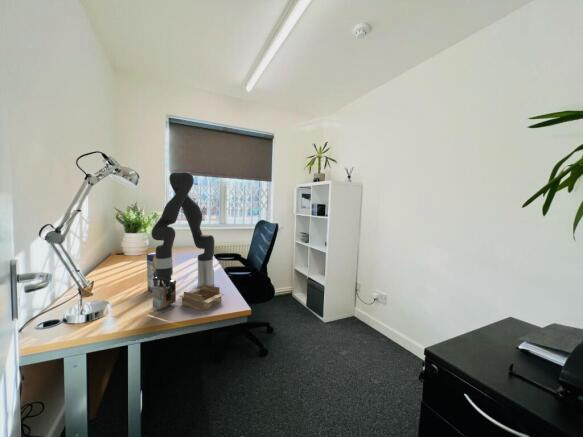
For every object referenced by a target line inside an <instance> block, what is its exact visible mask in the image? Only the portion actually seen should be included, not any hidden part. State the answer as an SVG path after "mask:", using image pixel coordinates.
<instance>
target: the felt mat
mask: <svg viewBox="0 0 583 437" xmlns="http://www.w3.org/2000/svg"><path fill="white" fill-rule="evenodd" d="M177 307H179V305H177V304H175V303H173V304H170V305H168V306H166V307H164V308H162V309H157V308H154V307H152V308H150V311H151V310H152V311H154V312H158V313H161V314H164V313H167V312H169V311H171V310H172V309H175V308H177Z"/></svg>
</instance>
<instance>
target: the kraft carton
mask: <svg viewBox="0 0 583 437" xmlns="http://www.w3.org/2000/svg"><path fill="white" fill-rule="evenodd" d="M220 290H221V288H220V287H219V286H214V285H212V286H211V285H206V284H202V287H201V288H199V287H197V288H194V289H192V290H191V291H183V294H180V295H179V297H180V298H181V305H182V307H186V308H190V309H193V310H198V311H201V312H204V311H206V310H208V309H209V308H211V307H213V306H215V305H217V304H218V303H220V302H222V296H224V295H225V294H224V293H222V292H221V291H220Z"/></svg>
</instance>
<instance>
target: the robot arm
mask: <svg viewBox="0 0 583 437" xmlns="http://www.w3.org/2000/svg"><path fill="white" fill-rule="evenodd" d="M194 180H195V179H194V176H193V174H192V173H191V172H190V171H175V172H171V173H170V175H169V180H168V181H169V183H170V186H171V188H172V190H173V192H174V193H175V194H174V196H173V197H171V198H170V200H168V202H167V203H166V204H165V207H164V209H163V211H162V213H161V216H160V218H159V219H158V220H157V222H156V223H155V225H154V226H153V228H152V230H151V237H152V239H153V240H155V241H163V242H162V244H160V245H157V246H156V248H155V253H156V261H155V272H156V278H153V282H154V287H155V286H160V285H161V286H163V287H165V289H166V301H169V300H171V293H172V292H174V291H175V285H176V283H177V281H176V280H172V275H173V273H174V271H173V268H174V267H173V265H174V264H173V262H174V261H173V246H174V242H175V238H176V231H175V229H174V227H173V226H170V225H174V224H175V223H176V222H177V219H178V217H179V213H180V210H181V209H182V211H183V212H182V213H183V214H184V216H185V219H186V222H187V223H188V226H189V229H190V232H191V235H192V236H191V237H192V239H193V242H194V245H195V247H196V248H197V249H199V250H200V249H202V250H203V253H200V254H198V256H197V286H198V287H197V288H199V287H200V288H202V284H206V285H211V286H214V284H215V270H214V255H215V238H214V236H213V235H212V234H204V233H203V232H202V228H201V225H202V221H203V214H202V213H203V212H202V211H201V208H200V206H199V204H198V203H197V202H196V201H195V200H194V199H193V198H192V197H191V196H190V195H189V194H190V191H191V190H192V188H193V185H194ZM157 284H158V285H157ZM169 285H170V286H169ZM166 286H169V287H166ZM176 286H177V285H176ZM168 288H169V291H168Z"/></svg>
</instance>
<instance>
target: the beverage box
mask: <svg viewBox="0 0 583 437" xmlns="http://www.w3.org/2000/svg"><path fill="white" fill-rule="evenodd" d="M155 261H156V252H151V253H147V254H146V272H147V273H146V274H147V275H146V277H147V278H146V279H147V281H146V282H147V283H146V284H147V290H148V291H150V292H152V287H154V282H153V278H156V272H155ZM157 285H158V284H157Z"/></svg>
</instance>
